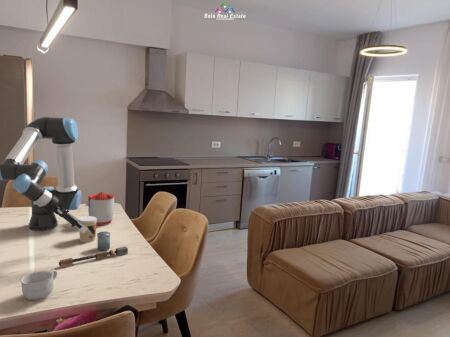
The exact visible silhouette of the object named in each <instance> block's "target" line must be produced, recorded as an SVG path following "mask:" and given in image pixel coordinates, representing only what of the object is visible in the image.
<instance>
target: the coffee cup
mask: <svg viewBox="0 0 450 337" xmlns="http://www.w3.org/2000/svg"><path fill="white" fill-rule="evenodd" d="M78 220H79V221H78V222H80V223H81V224H82V225H84V226H85V227H86V228H88V229H87V230H86V232H85V233H83V232H81V231H80V230H79V229H78V233H79V241H80V242H81V243H91V242H94V241H96V237H97V233H96V232H97V225H96V223H97V219H96V217H94V216H89V215H86V216H81V217H79V218H78Z"/></svg>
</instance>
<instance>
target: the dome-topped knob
mask: <svg viewBox="0 0 450 337" xmlns="http://www.w3.org/2000/svg"><path fill="white" fill-rule="evenodd" d="M96 237H97V250H98V252H102V251H110V250H111V241H110V240H111V232H109V231H99V232H97V233H96Z"/></svg>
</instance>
